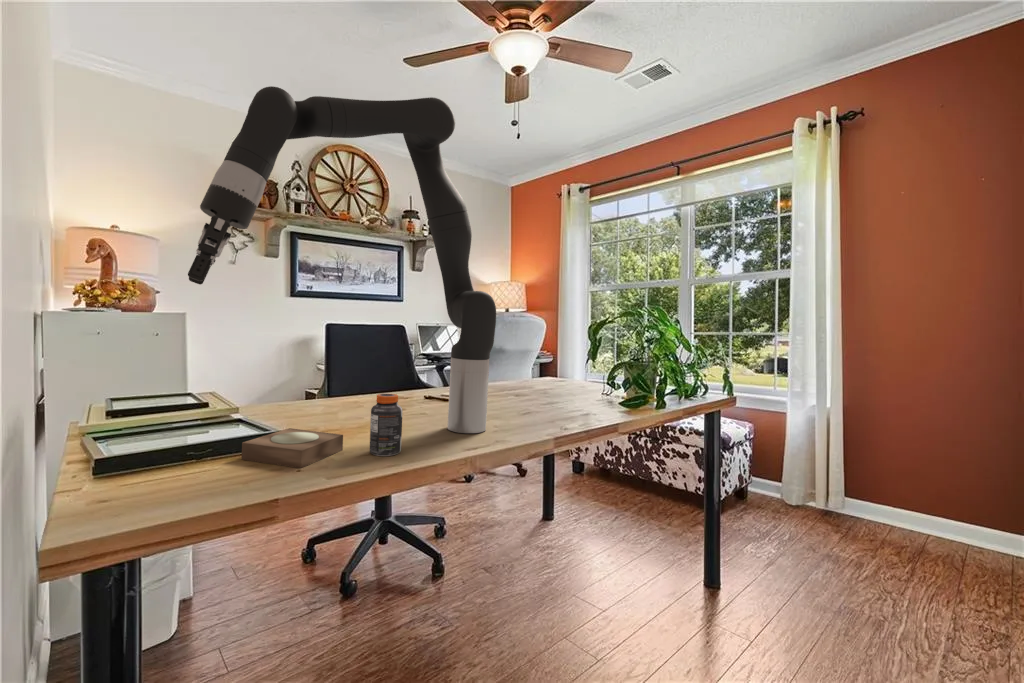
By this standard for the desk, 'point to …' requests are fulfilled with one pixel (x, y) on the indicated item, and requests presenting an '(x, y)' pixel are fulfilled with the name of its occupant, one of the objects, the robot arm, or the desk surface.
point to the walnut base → (292, 447)
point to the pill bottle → (386, 426)
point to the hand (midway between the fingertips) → (194, 280)
